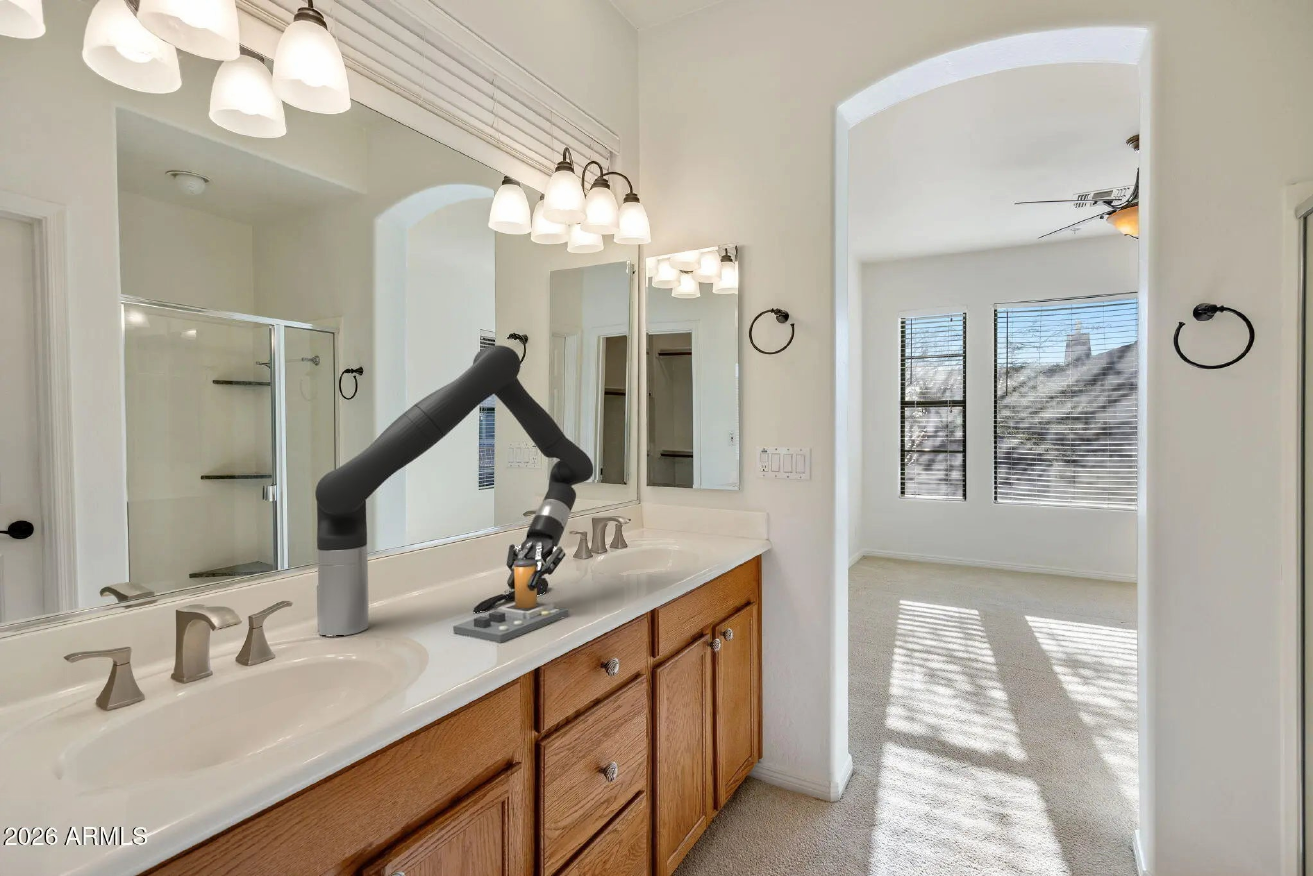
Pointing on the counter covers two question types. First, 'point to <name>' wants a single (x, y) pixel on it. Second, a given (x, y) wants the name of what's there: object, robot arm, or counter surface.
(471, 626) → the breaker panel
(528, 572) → the orange lidded container
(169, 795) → the counter surface
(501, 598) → the hairbrush
